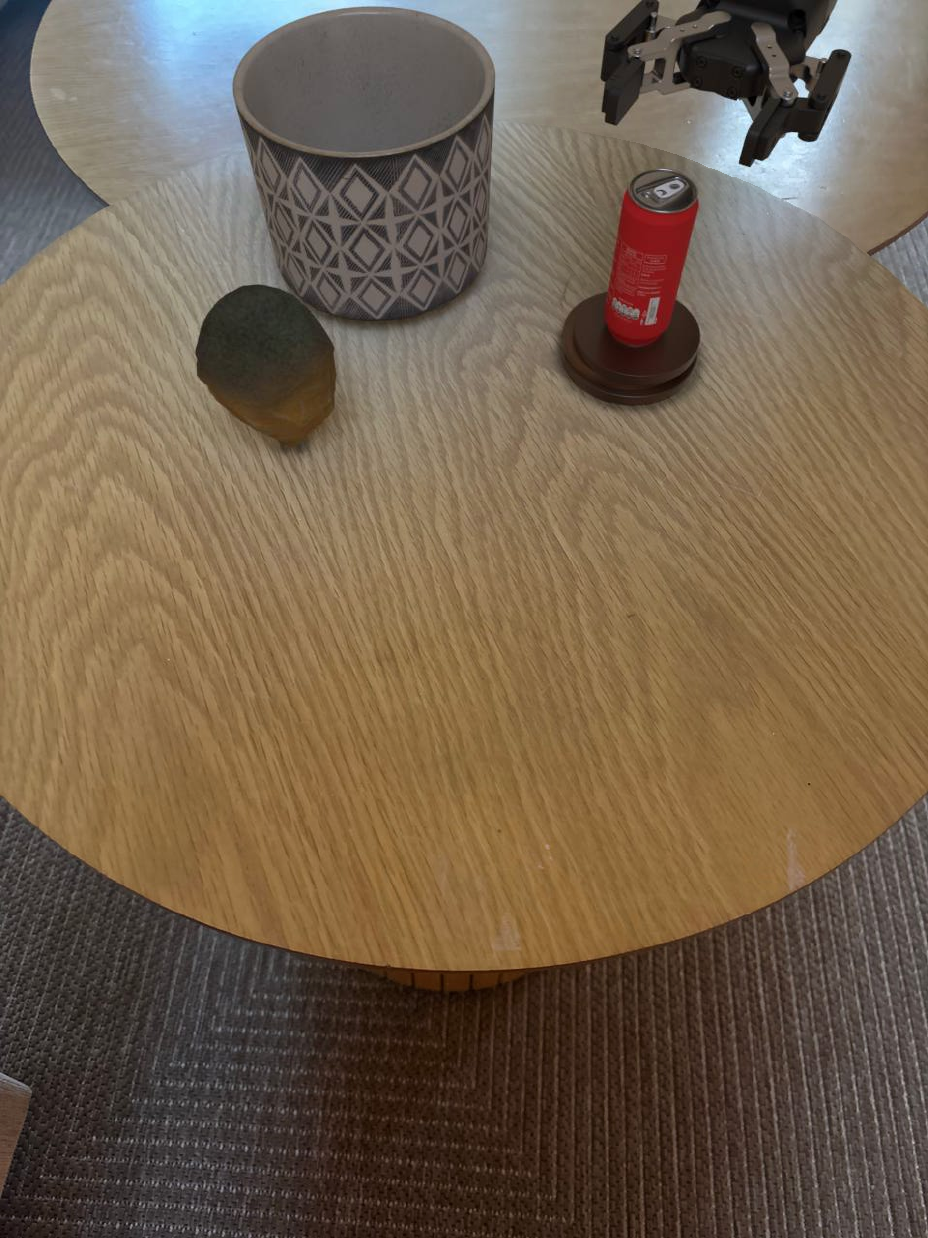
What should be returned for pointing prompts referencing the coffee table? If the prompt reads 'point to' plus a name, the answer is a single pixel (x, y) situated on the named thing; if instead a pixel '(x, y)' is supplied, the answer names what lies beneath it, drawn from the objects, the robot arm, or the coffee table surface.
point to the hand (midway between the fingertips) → (678, 129)
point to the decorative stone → (268, 362)
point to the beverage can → (650, 255)
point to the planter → (371, 157)
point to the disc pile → (628, 356)
